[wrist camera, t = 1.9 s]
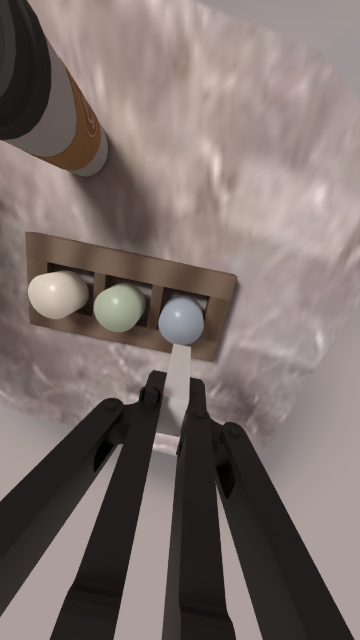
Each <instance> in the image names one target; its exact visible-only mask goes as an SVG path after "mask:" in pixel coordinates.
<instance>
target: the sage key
mask: <svg viewBox="0 0 360 640" xmlns="http://www.w3.org/2000/svg"><path fill="white" fill-rule="evenodd" d="M145 307H146V301H145V297H144V295H143V293H142V292H141V291H140V289H138V288H137V287H136V286H134V285H132V284H129V283H119V284H116V285H114V286H112V287H111V288H109V289H107V290H105V291H103V292H101V293H100V294H99V295H98V296H97V298H96V300H95V302H94V313H95V316H96V318H97V320H98V322H99V323H100V324H101V325H102V326H103V327H105V328H106V329H108V330H110V331H113V332H125V331H127V330H129V329H131V328H132V327H133V326H134V325H135V324H136V322H137V321H138V320H139V318H140V317H141V316H142V314H143V313H144V310H145Z"/></svg>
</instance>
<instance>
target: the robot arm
mask: <svg viewBox="0 0 360 640" xmlns="http://www.w3.org/2000/svg"><path fill="white" fill-rule="evenodd" d="M190 359H191V347H188V346H184V345H179V344H173V349H172V354H171V358H170V363H169V368H168V372H167V373H165V372H160V371H156V370H154V371H152V372H151V373H150V374H149V377H148V380H147V383H146V386H144V387H143V388H142V389H141V390H140V395H139V401H138V402H136V403H134V404H129V405H123V403H122V401H120V400H119V399H116V398H108V399H105V400H103V401H102V402H100V403H99V404H98V405H97V406H96V407H95V408H94V409H93V410H92V411H91V412H90V413H89V414H88V415H87V416H86V417H85V418H84V419H83V420H82V421H81V422H80V423H79V424H78V425H77V426H76V427H75V428H74V429H73V430H72V431H71V432H70V433H69V434H68V435H67V436H66V437H65V438H64V439H63V440H62V441H61V442H60V443H59V444H58V445H57V446H56V447H55V448H54V449H53V450H52V451H51V452H50V453H49V454H48V455H47V456H46V457H45V458H44V459H43V460H42V461H41V462H40V463H39V464H38V465H37V466H36V467H35V468H34V469H33V470H32V471H31V472H30V473H29V474H28V475H27V476H26V477H25V478H24V479H23V480H21V481H20V482H19V484H17V485H16V486H15V487H14V489H12V490H11V491H10V492H9V493H8V494H7V495H6V496H5V497H4V498H3V499H2V500H1V501H0V617H1V615H2V614H3V612H4V611H5V609H6V608H7V606H8V605H9V603H10V602H11V600H12V599H13V598H14V596H15V595H16V593H17V592H18V590H19V589H20V587H21V586H22V584H23V583H24V582H25V580H26V579H27V577H28V576H29V574H30V573H31V571H32V570H33V568H34V567H35V566H36V564H37V563H38V561H39V560H40V558H41V557H42V555H43V554H44V552H45V551H46V550H47V548H48V547H49V545H50V544H51V542H52V541H53V539H54V538H55V536H56V535H57V533H58V532H59V531H60V529H61V527H62V526H63V525H64V523H65V522H66V520H67V519H68V517H69V516H70V515H71V513H72V512H73V510H74V509H75V507H76V506H77V504H78V503H79V501H80V500H81V499H82V497H83V496H84V494H85V493H86V491H87V490H88V488H89V487H90V485H91V484H92V482H93V481H94V479H95V478H96V477H97V475H98V474H99V472H100V471H101V469H102V468H103V466H104V465H105V463H106V462H107V461H108V459H109V457H110V456H111V455H112V453H113V452H114V450H115V449H116V447H117V446H118V444H123V447H122V449H121V452H120V455H119V458H118V460H117V463H116V466H115V469H114V472H113V474H112V477H111V480H110V483H109V486H108V489H107V491H106V494H105V497H104V500H103V502H102V505H101V508H100V511H99V514H98V517H97V519H96V522H95V525H94V528H93V531H92V533H91V536H90V539H89V542H88V545H87V547H86V550H85V553H84V556H83V559H82V562H81V564H80V567H79V570H78V572H77V575H76V578H75V580H74V582H73V584H72V586H71V587H70V589H69V591H68V593H67V596H66V598H65V600H64V603H63V605H62V608H61V610H60V613H59V616H58V618H57V621H56V624H55V626H54V630H53V632H52V635H51V637H50V640H113V639H114V634H115V628H116V624H117V619H118V614H119V609H120V604H121V599H122V594H123V589H124V584H125V579H126V574H127V570H128V565H129V560H130V555H131V550H132V545H133V540H134V536H135V531H136V526H137V521H138V516H139V511H140V506H141V501H142V496H143V491H144V486H145V482H146V477H147V472H148V467H149V462H150V458H151V453H152V448H153V443H154V438H155V433H156V432H158V433H163V434H167V435H172V436H177V437H179V436H180V441H179V444H178V448H177V452H176V455H177V466H176V478H175V490H174V501H173V513H172V525H171V537H170V549H169V560H168V573H167V584H166V595H165V608H164V620H163V631H162V640H236V636H235V631H234V627H233V623H232V621H231V619H230V617H229V615H228V612H227V609H226V599H225V588H224V576H223V564H222V553H221V541H220V529H219V518H218V507H217V495H216V484H217V488H218V491H219V494H220V498H221V501H222V504H223V508H224V511H225V514H226V518H227V521H228V524H229V528H230V531H231V535H232V538H233V541H234V545H235V548H236V551H237V554H238V558H239V561H240V565H241V568H242V571H243V575H244V578H245V581H246V585H247V588H248V592H249V595H250V598H251V601H252V604H253V608H254V612H255V615H256V618H257V622H258V625H259V628H260V632H261V635H262V638H263V640H354V638H353V636H352V634H351V632H350V630H349V628H348V627H347V625H346V623H345V621H344V619H343V617H342V615H341V613H340V611H339V610H338V607H337V606H336V604H335V602H334V600H333V598H332V596H331V594H330V592H329V591H328V588H327V587H326V585H325V583H324V581H323V579H322V577H321V575H320V573H319V571H318V569H317V567H316V566H315V564H314V562H313V560H312V558H311V556H310V554H309V552H308V550H307V548H306V547H305V545H304V543H303V541H302V539H301V537H300V535H299V533H298V531H297V530H296V528H295V526H294V524H293V522H292V520H291V518H290V516H289V514H288V512H287V511H286V509H285V506H284V505H283V503H282V501H281V499H280V497H279V495H278V493H277V491H276V489H275V487H274V485H273V484H272V482H271V480H270V478H269V476H268V474H267V472H266V470H265V468H264V466H263V464H262V463H261V461H260V459H259V457H258V455H257V453H256V451H255V449H254V447H253V445H252V443H251V442H250V440H249V438H248V436H247V434H246V432H245V431H244V429H243V428H242V427H241V426H239V425H238V424H236V423H233V422H226V423H225V424H224V425H221V424H219V423H217V422H215V421H213V420H212V419H211V418H210V416H209V413H208V412H207V410H206V396H205V385H204V383H203V381H202V380H200V379H196V378H191V377H190ZM215 481H216V483H215Z"/></svg>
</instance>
